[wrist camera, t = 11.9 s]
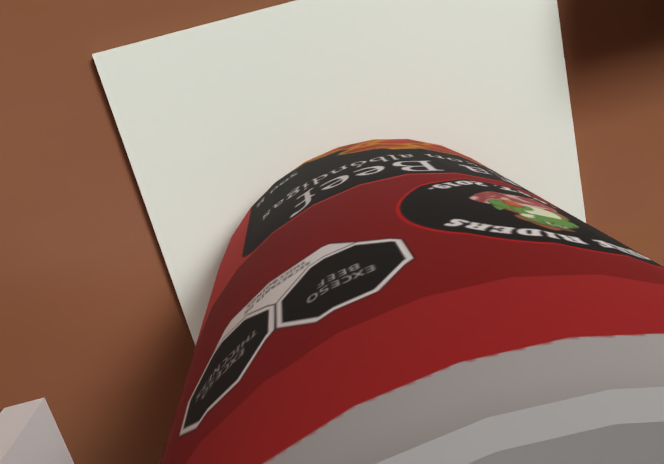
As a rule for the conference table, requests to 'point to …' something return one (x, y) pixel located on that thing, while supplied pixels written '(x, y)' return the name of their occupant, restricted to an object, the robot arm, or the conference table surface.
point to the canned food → (422, 325)
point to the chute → (332, 107)
